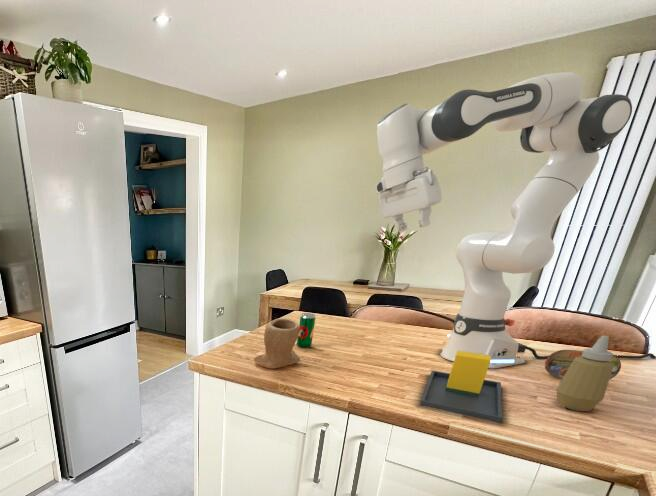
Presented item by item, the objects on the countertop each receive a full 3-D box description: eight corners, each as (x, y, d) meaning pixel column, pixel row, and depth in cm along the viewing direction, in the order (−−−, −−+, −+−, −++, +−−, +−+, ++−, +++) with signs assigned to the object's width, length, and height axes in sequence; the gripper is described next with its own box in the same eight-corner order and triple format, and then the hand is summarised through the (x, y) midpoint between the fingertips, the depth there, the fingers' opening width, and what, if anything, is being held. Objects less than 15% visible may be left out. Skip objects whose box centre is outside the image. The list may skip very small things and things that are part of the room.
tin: (543, 377, 115) (554, 349, 111) (538, 373, 117) (549, 346, 114) (614, 384, 109) (628, 355, 106) (607, 380, 112) (620, 352, 108)
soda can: (312, 348, 143) (317, 315, 139) (297, 348, 144) (302, 315, 140) (309, 344, 148) (314, 312, 143) (295, 343, 149) (299, 312, 144)
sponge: (446, 384, 110) (457, 350, 106) (478, 390, 106) (490, 355, 102) (445, 390, 107) (456, 355, 103) (478, 396, 103) (490, 360, 99)
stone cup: (273, 374, 121) (278, 327, 115) (248, 363, 131) (252, 318, 125) (310, 366, 127) (317, 320, 121) (283, 355, 137) (288, 312, 131)
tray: (430, 376, 117) (431, 370, 117) (498, 388, 108) (500, 382, 108) (419, 407, 99) (420, 400, 99) (500, 425, 90) (502, 418, 89)
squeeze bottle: (541, 400, 101) (570, 332, 94) (570, 398, 102) (601, 330, 94) (576, 415, 94) (609, 342, 87) (607, 413, 94) (643, 340, 87)
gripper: (444, 160, 94) (453, 218, 97) (393, 180, 114) (402, 228, 117) (417, 170, 95) (427, 228, 98) (371, 188, 115) (381, 236, 118)
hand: (413, 228), depth 108 cm, fingers open, 8 cm apart
